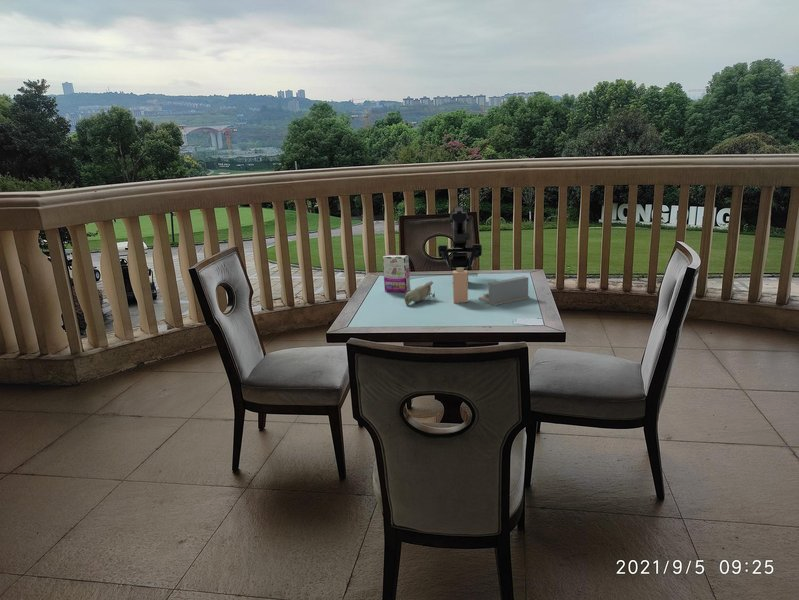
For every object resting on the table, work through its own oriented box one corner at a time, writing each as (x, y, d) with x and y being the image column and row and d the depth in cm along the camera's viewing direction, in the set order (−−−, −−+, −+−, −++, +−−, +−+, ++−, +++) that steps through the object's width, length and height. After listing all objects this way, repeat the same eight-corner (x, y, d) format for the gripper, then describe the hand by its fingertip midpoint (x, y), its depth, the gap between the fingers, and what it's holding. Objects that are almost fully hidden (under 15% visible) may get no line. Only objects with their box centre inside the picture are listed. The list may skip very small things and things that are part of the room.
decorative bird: (401, 304, 229) (400, 287, 227) (428, 296, 239) (427, 279, 237) (410, 307, 225) (409, 289, 223) (437, 298, 235) (436, 281, 233)
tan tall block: (453, 300, 231) (452, 266, 227) (467, 300, 230) (467, 266, 226) (453, 303, 227) (452, 269, 223) (467, 302, 226) (467, 268, 222)
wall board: (478, 299, 230) (478, 279, 228) (512, 292, 238) (512, 272, 235) (494, 305, 221) (494, 284, 218) (529, 298, 228) (529, 277, 226)
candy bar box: (410, 289, 250) (409, 255, 245) (406, 292, 246) (405, 257, 241) (388, 288, 254) (386, 254, 249) (384, 291, 250) (382, 256, 245)
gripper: (437, 226, 233) (437, 257, 226) (481, 225, 231) (482, 256, 223) (438, 241, 243) (438, 271, 235) (480, 240, 241) (482, 270, 233)
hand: (460, 267), depth 232 cm, fingers open, 9 cm apart
